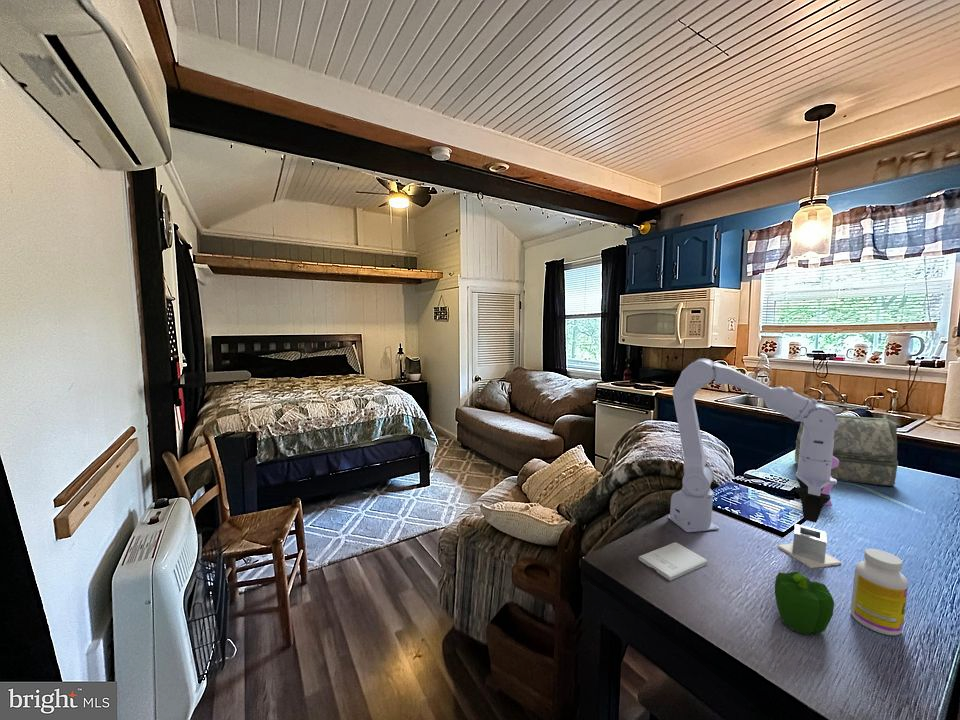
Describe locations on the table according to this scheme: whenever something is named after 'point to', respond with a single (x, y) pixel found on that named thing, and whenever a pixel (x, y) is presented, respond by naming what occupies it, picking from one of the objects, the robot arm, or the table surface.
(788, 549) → the peg base
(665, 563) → the external hard drive
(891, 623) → the supplement bottle
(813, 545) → the white storage bin
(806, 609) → the bell pepper
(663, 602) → the table surface
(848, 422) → the lunch bag
